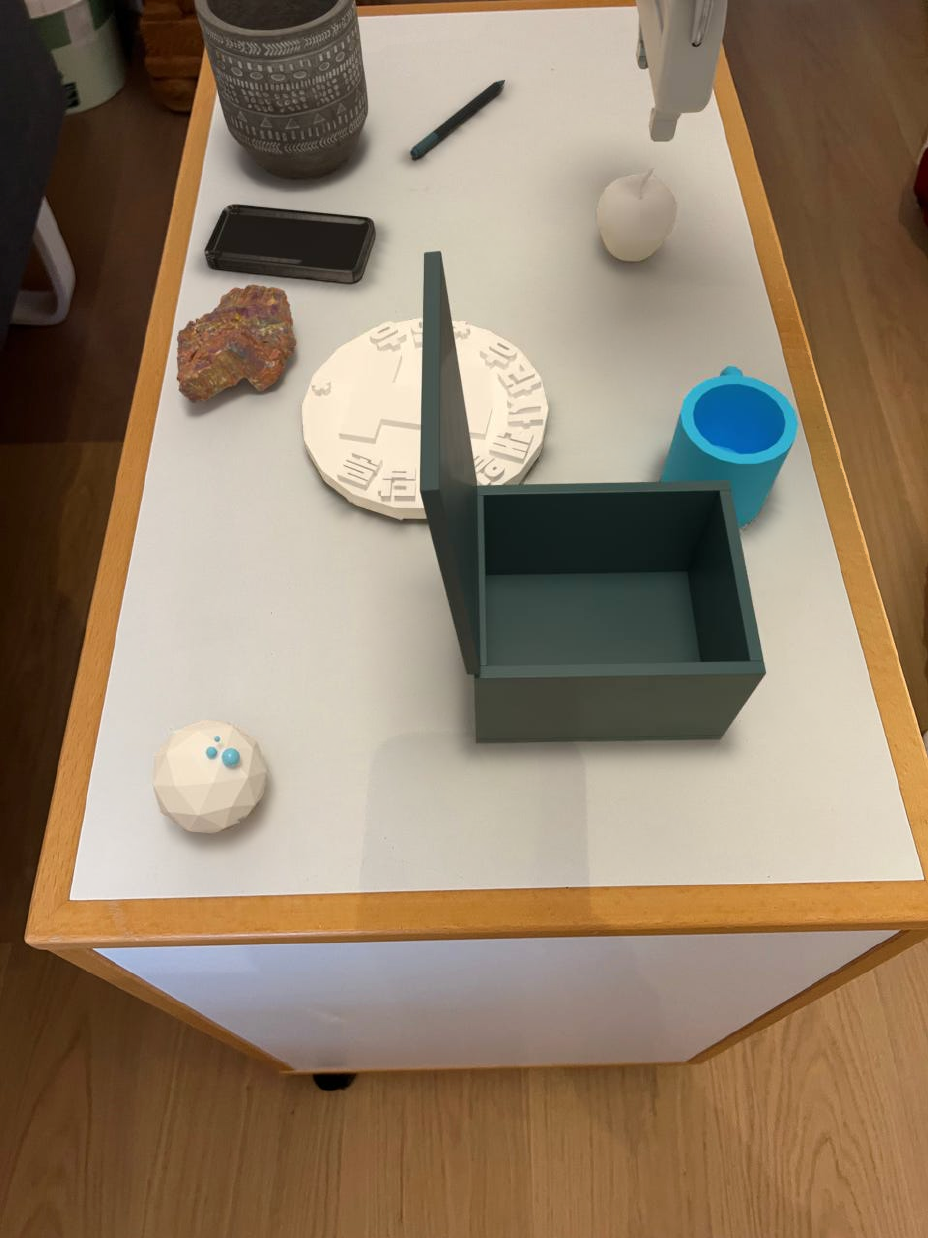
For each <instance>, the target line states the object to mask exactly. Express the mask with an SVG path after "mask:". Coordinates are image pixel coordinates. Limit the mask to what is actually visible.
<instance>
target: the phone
mask: <svg viewBox="0 0 928 1238" xmlns="http://www.w3.org/2000/svg"><path fill="white" fill-rule="evenodd" d="M375 239H376V226H375V221H374V220H373V219H372V218H371V217H367V216H359V215H352V214H351V215H350V214H340V213H332V212H331V213H330V212H319V211H310V210H301V209H290V208H279V207H269V206H259V205H249V204H239V203H238V204H237V203H235V204H234V203H233V204H229V205H227V206H225V207H224V208H223V209H222V211H221V213H220V215H219V217H218V220H217V222H216V224H215V226H214V228H213V230H212V232H211V234H210V237H209V238H208V241H207V243H206V245H205V248H204V250H203V253H204V257H205V259H206V263H207V264H208V266H209V267H210V268H212V269H216V270H226V271H235V272H245V273H253V274H264V275H271V276H272V275H273V276H283V277H290V278H291V277H292V278H302V279H308V280H309V279H311V280H312V279H313V280H318V281H319V280H320V281H329V282H339V283H355V282H357V281H359V280H360V279H361V278H362V277H363V275H364V272H365V270H366V269H365V268H366V265H367V262H368V260H369V258H370V257H369V256H370V254H371V251H372V247H373V244H374V242H375Z"/></svg>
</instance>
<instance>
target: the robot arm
mask: <svg viewBox="0 0 928 1238" xmlns="http://www.w3.org/2000/svg"><path fill="white" fill-rule="evenodd" d="M635 4H636V9H637V15H638V38H637V43H636V44H637V45H636V51H635V57H636V58H635V59H636V62H637V67H638V69H640V70H647V69H648V73H649V78H650V84H651V90H652V95H653V101H654V107H651V111H650V115H649V122H648V130H649V136H650V140H651V141H652V142H653V143H656V142H657V143H658V142H659V143H660V142H661V143H663V142H664V143H665V142H671V141H672V140H673V139H674V137H675V135H676V134H675V133H676V129H677V125H678V124H677V123H678V120H679V119H680V117H681V115H682V114H696V113H701V112H703V111H704V110H705V108H706V107H707V105H708V104H709V102H710V100H711V98H712V94H713V90H714V86H715V85H714V84H715V81H716V80H715V79H716V74H717V70H718V64H719V59H720V54H721V48H722V43H723V39H724V32H725V28H726V27H725V26H726V20H727V13H728V0H635Z"/></svg>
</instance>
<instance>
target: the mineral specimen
mask: <svg viewBox="0 0 928 1238" xmlns="http://www.w3.org/2000/svg"><path fill="white" fill-rule="evenodd" d="M293 325H294V320H293V317H292V312H291V304H290V302H289V301H288V296H287V294H286V291H285V290H283V289H281V288H278V287H274V286H273V287H272V286H271V287H267V286H265V285H259V284H248V285H246V286H245V287H244V288H243V287H242V288H239V287H233V288H231V289H230V290H229V291H228V292H227V293H226V294H223V295H221V297H220V300H219V303H218V305H217V307H215V308H214V309H213V310H212V311H211V312H208V313H204V314H203V316H200V318H195V320H194V321H193V320H189V321H188V323H187V324H186V325H185V327H184V328H183V329H180V330H178V333H177V336H176V341H177V348H176V352H177V356H176V364H177V367H176V368H177V374H176V377H175V379H176V381H177V382H178V383H179V385H178V391H179V393H181V394H182V396H184V397H185V398H186V399H187V400H188V401H189V402H190V403H191V404H196V403H198V402H200V401H203V402H206V401H208V400H209V399H210V398H212V397H214V396H215V395H217V394H218V393H220V392H222V391H224V390H225V389H227V388H229V387H230V388H232V387H234V386H237V384H238V383H239V381H241V380H242V379H244V378H246V379H247V380H248V382H249V383H250V385H252V386H253V387H254V388H255V389H256V390H257V391H259V392H264V391H266V390H267V389H268V388H269V387H271V386H272V385H274V384H275V383H276V382H277V381H278V379H279V377H280V375H281V374H282V372H283V371H284V370H285V366H286V365H287V362H286V361H287V359H288V358H289V357H290V356H291V355H292V354H294V352H295V349H296V346H297V339H296V337H295V334H294V332H293V328H292V326H293Z"/></svg>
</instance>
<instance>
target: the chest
mask: <svg viewBox="0 0 928 1238" xmlns="http://www.w3.org/2000/svg"><path fill="white" fill-rule="evenodd" d="M477 508H478V559H479V610H480V661H481V674H475V675H473V694H474V696H473V697H474V733H475V744H502V743H503V744H504V743H506V744H507V743H559V742H560V743H563V742H564V743H565V742H566V743H568V742H573V743H574V742H627V741H628V742H630V741H632V742H633V741H634V742H635V741H637V742H638V741H689V740H690V741H691V740H692V741H693V740H694V741H697V740H721V739H723V737H724V735H726V732H728V730H729V728H731V727H730V726H732V724H733V722H734V721H735V720H736V718H737V717H738V715H739V714H740V712H741V711H742V709H743V708H744V706H745V705H746V704H747V702H748V701H749V699H750V698H751V697H752V695H753V694H754V692H755V690H756V689H757V688H758V686H759V684H760V683H761V682H762V680H763V679H764V677H765V676H766V674H767V670H766V664H765V661H764V654H763V649H762V644H761V639H760V633H759V628H758V622H757V618H756V612H755V607H754V601H753V597H752V591H751V586H750V580H749V575H748V570H747V565H746V560H745V554H744V548H743V544H742V537H741V534H740V533H741V532H740V527H738V522H737V516H736V511H735V506H734V501H733V495H732V491H731V485H730V481H729V480H721V481H671V482H660V481H631V482H630V481H629V482H627V481H624V482H622V481H621V482H578V483H577V482H576V483H571V482H570V483H531V484H530V483H529V484H527V483H526V484H518V485H477Z"/></svg>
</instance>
